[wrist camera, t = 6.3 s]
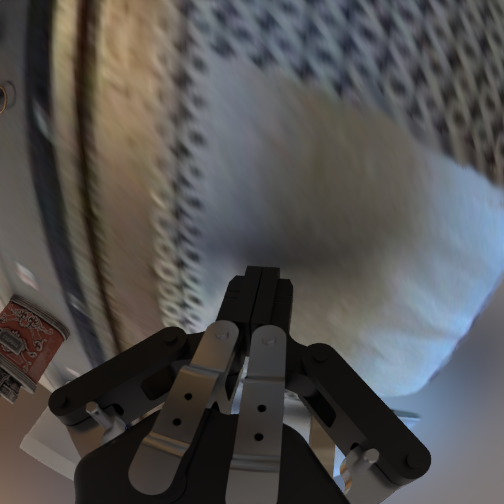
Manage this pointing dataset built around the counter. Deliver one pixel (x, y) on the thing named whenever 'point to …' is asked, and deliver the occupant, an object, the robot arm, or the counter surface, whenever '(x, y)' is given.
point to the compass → (5, 98)
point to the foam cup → (52, 444)
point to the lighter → (26, 345)
